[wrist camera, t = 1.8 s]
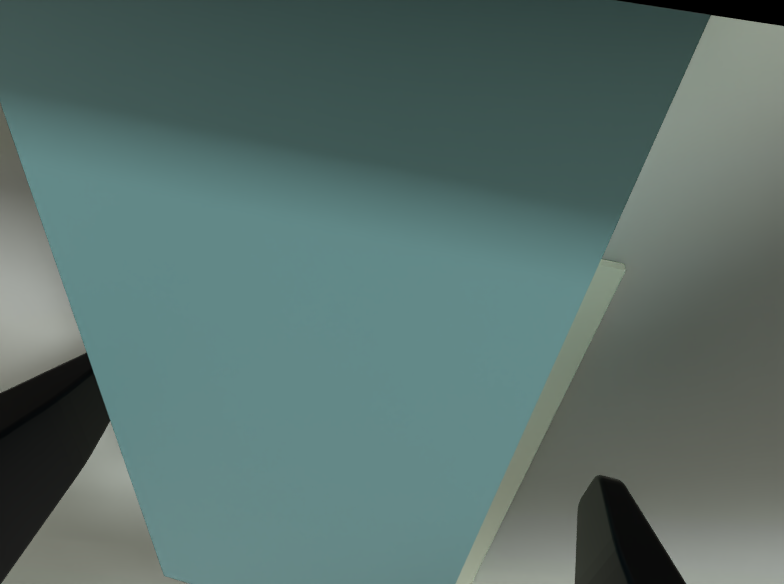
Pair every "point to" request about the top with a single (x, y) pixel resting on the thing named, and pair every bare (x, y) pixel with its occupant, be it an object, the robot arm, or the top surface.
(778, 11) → the tunnel
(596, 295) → the pad
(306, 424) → the bar
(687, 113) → the top surface
